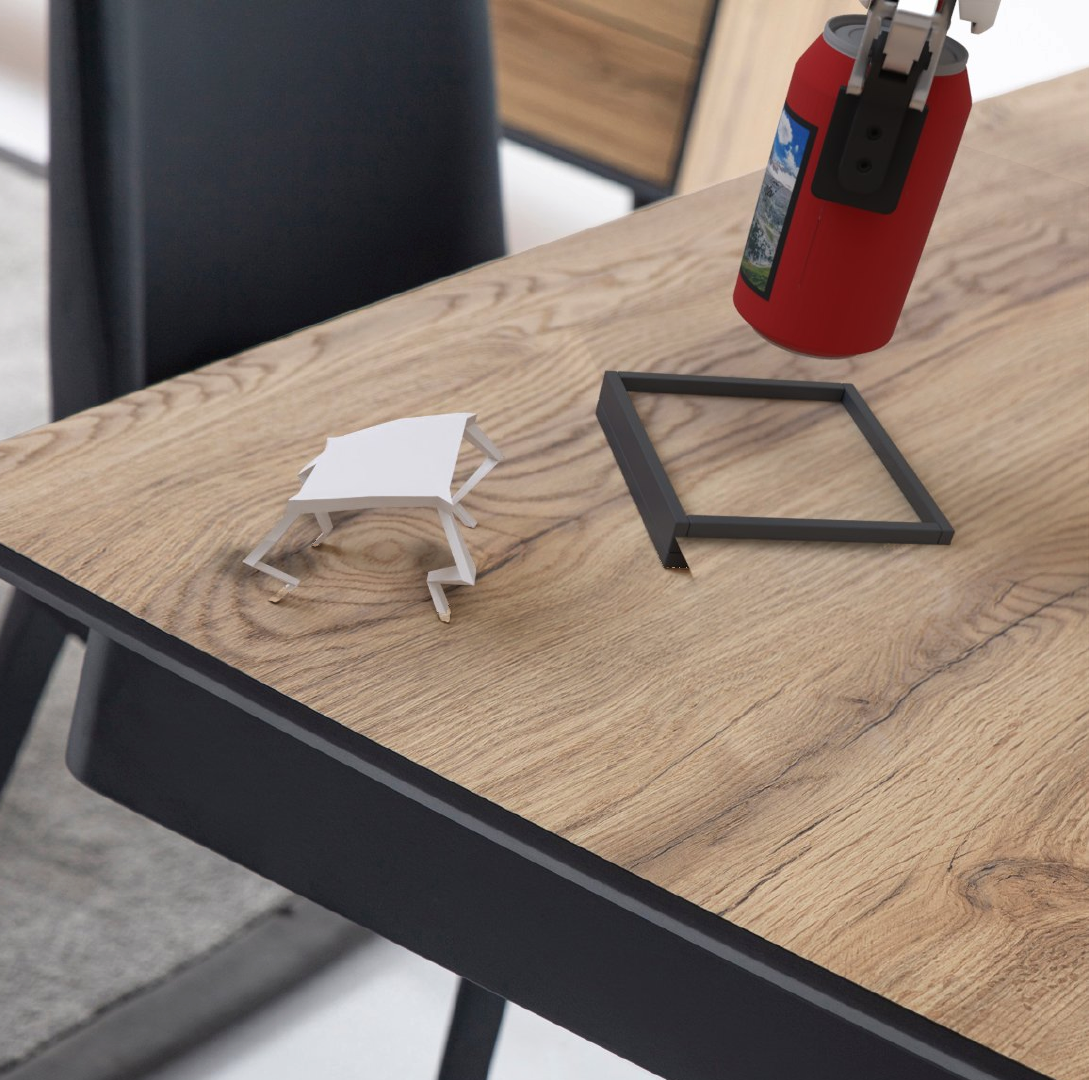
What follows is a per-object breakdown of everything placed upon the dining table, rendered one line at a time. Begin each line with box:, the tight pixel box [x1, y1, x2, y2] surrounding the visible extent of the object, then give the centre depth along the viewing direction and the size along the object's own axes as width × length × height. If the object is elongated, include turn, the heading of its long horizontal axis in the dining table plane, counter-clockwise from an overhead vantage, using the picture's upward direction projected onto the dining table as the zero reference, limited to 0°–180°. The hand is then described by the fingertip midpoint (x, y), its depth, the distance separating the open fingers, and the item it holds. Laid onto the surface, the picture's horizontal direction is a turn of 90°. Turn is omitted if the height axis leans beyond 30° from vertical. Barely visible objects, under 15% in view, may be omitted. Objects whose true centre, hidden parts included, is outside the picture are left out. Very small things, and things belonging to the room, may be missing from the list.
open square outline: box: [594, 370, 956, 569], centre depth 71 cm, size 12×12×2 cm
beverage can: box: [732, 13, 973, 361], centre depth 64 cm, size 7×7×12 cm
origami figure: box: [242, 412, 505, 615], centre depth 62 cm, size 12×8×5 cm
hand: (859, 166), depth 63 cm, fingers closed on beverage can, 6 cm apart
